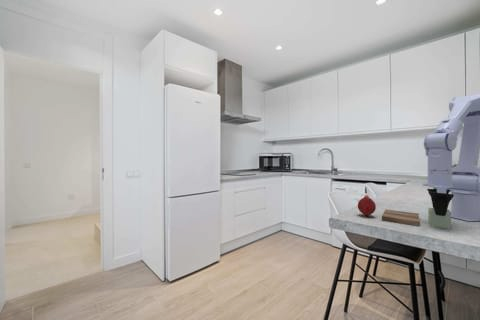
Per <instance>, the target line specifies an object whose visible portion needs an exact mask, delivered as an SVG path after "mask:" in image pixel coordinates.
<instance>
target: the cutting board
mask: <svg viewBox="0 0 480 320" xmlns="http://www.w3.org/2000/svg"><path fill="white" fill-rule="evenodd" d="M381 221H382V222H387V223H389V222H390V223H395V224H400V225H401V224H403V225H407V226H408V225H409V226H415V227H420V213H417V212H416V213H415V212H409V211H408V212H407V211H403V210H401V211H400V210H393V209H384V211H383V213H382V215H381Z"/></svg>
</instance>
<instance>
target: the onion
mask: <svg viewBox="0 0 480 320" xmlns="http://www.w3.org/2000/svg"><path fill="white" fill-rule="evenodd" d="M357 209H358V210H359V212H360V213H361V214H363V216H364V217H369V216H370V215H372V214H374V213H375V212H376V209H377V206H376V202H375V201H374V200H373V198H371V197H369V195H368V194H365V195H364V197H362V198H361V199H360V200H359V201H358V203H357Z"/></svg>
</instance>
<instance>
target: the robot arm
mask: <svg viewBox="0 0 480 320" xmlns="http://www.w3.org/2000/svg"><path fill="white" fill-rule="evenodd" d="M448 110H449V114H448V117H446V118H443V119H442V120H441V121H439V123H438V125H437V126H436V128H435V129H434V131H433V133H429V134H428V135H426V136H425V137H424V141H423V148H424V150H425V156H426V157H427V183H426V182H424V183H422V186H425V187H428V188H426V191H427V192H428V194H429V197H430V199H431V204H432V208H434V210H435V214H436V215H439V216H445V215H446V212H447V210H448V207H449V205H450V203H451V208H450V209H451V210H450V212H451V218H455V219H458V220H462V221H466V222H480V167H479V166H478V165H479V158H480V93H476V94H470V95H465V96H458V97H453V98H451V99H450V101H449V102H448ZM461 130H462V136H461V143H460V148H459V155H458V156H459V157H458V162H457V164H456V165H455V166H453V151H454V150H455V149H456V147H457V145H458V143H457V142H458V139H459V138H458V135H459V133H460V132H461Z"/></svg>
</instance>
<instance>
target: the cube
mask: <svg viewBox="0 0 480 320" xmlns="http://www.w3.org/2000/svg"><path fill="white" fill-rule="evenodd" d="M427 212H428V213H427V215H428V217H427V218H428V226H429V227H435V228H440V229H447V230H448V229H449V230H452V217H451V210H450V209H447V212H446V215H445V216H439V215H436V214H435V210H434V208H433V207H428V211H427Z"/></svg>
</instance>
